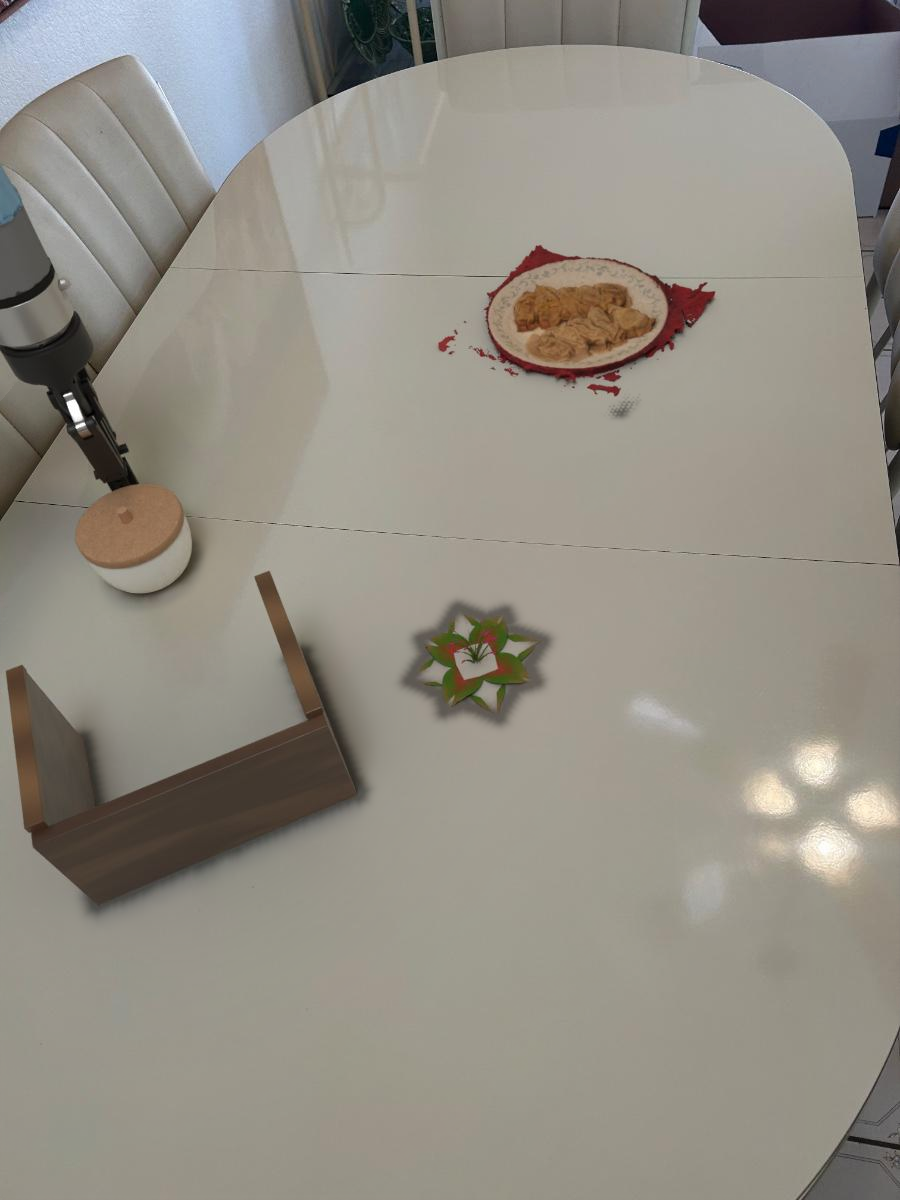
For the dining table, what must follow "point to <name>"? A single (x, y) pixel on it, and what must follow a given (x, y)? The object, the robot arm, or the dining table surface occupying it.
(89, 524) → the trinket box
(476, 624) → the lily flower
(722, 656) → the dining table surface
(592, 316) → the plate with food
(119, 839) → the shelf cubby
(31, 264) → the robot arm
